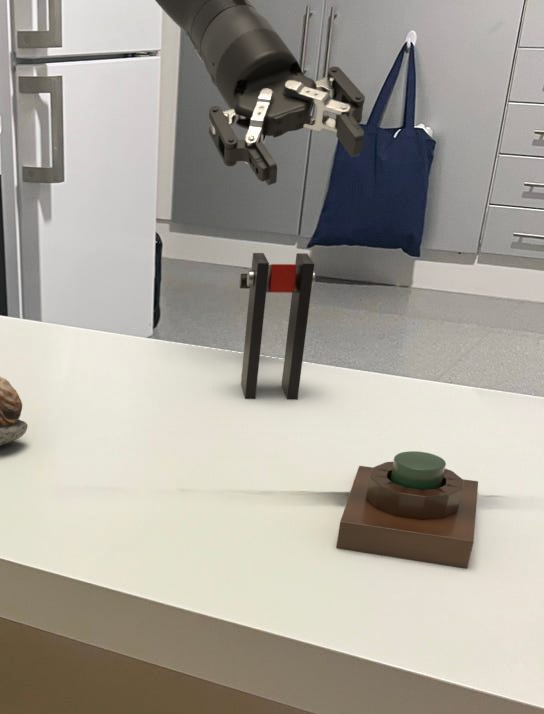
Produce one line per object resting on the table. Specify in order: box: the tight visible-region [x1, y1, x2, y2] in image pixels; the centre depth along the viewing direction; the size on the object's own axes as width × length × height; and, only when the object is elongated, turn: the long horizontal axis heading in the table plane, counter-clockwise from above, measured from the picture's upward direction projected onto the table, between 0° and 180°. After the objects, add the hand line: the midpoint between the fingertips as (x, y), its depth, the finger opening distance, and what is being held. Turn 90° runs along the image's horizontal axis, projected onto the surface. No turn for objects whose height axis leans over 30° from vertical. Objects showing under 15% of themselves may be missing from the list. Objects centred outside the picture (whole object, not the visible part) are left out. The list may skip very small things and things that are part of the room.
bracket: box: [240, 252, 316, 401], centre depth 96 cm, size 10×8×14 cm
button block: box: [335, 461, 479, 570], centre depth 75 cm, size 11×9×4 cm
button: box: [390, 450, 447, 490], centre depth 74 cm, size 4×4×2 cm
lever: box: [239, 263, 296, 294], centre depth 98 cm, size 13×5×2 cm, turn 177°
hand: (315, 162), depth 96 cm, fingers open, 8 cm apart
